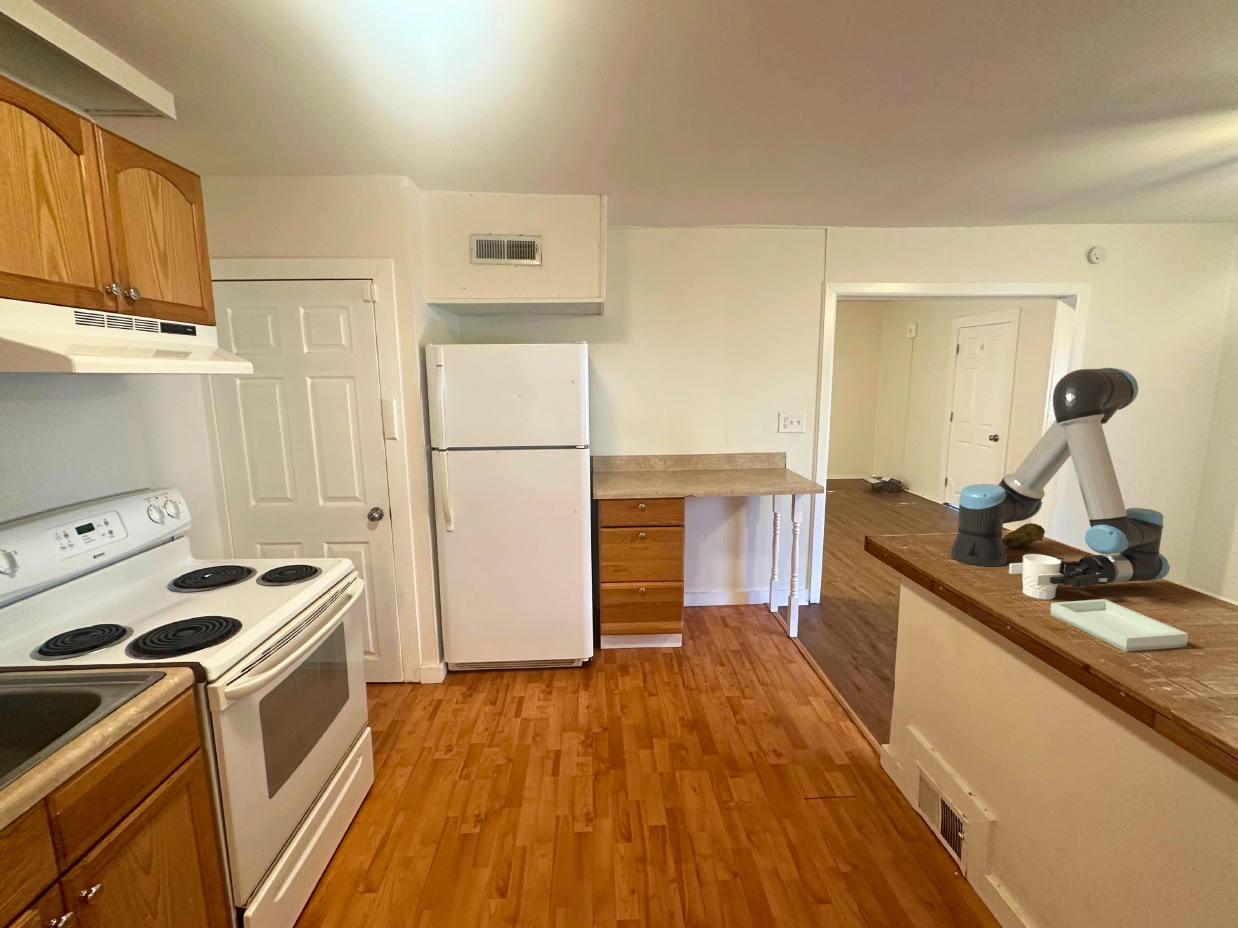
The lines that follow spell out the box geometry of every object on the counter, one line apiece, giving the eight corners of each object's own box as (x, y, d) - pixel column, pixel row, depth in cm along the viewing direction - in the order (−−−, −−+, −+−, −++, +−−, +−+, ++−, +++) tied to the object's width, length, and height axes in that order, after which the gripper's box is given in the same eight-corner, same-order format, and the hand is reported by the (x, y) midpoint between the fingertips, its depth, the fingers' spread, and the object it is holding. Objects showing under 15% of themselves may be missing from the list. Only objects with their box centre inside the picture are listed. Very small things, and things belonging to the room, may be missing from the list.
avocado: (994, 542, 182) (995, 520, 181) (1036, 543, 179) (1039, 521, 178) (1005, 550, 174) (1007, 526, 173) (1050, 551, 171) (1052, 528, 170)
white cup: (1064, 601, 135) (1068, 564, 133) (1029, 600, 137) (1033, 563, 135) (1046, 589, 143) (1049, 554, 141) (1013, 588, 144) (1016, 553, 143)
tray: (1050, 614, 128) (1051, 602, 128) (1103, 610, 129) (1104, 598, 129) (1125, 651, 111) (1127, 638, 110) (1186, 646, 111) (1188, 633, 111)
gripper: (1142, 597, 130) (1056, 603, 129) (1067, 568, 151) (991, 573, 149) (1146, 568, 129) (1059, 574, 128) (1069, 543, 149) (993, 548, 148)
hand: (1023, 574), depth 138 cm, fingers closed on white cup, 8 cm apart
